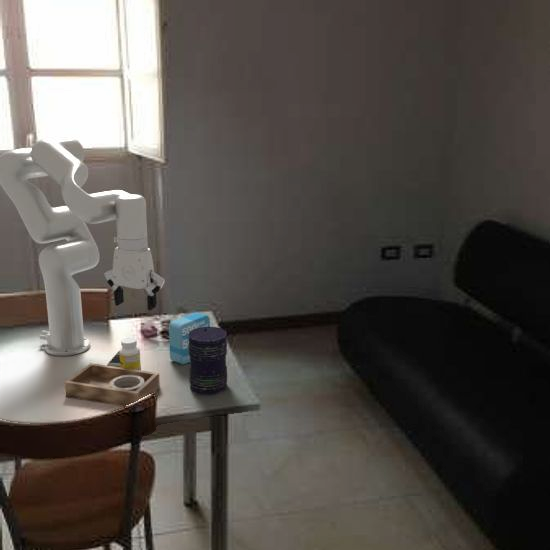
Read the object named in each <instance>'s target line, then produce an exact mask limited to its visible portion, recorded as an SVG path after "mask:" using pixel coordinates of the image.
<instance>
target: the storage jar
mask: <svg viewBox="0 0 550 550" xmlns="http://www.w3.org/2000/svg"><path fill="white" fill-rule="evenodd" d="M227 334H228V333H227V331H226V330H225V329H223V328H220V327H217V326H210V327H200V328H196V329H193V330H191V331H190V332H189V334H188V336H189V343H188V348H189V356H190V362H189V377H188V379H189V380H188V381H189V389H190V391H191V392H192V393H193V394H195V395H199V396H205V397H207V396H216V395H219V394H223V392H225V391H226V390H227V388H228V367H227V354H228V349H227V348H228V341H227V340H228V339H227Z"/></svg>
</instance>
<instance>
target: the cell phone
mask: <svg viewBox="0 0 550 550" xmlns="http://www.w3.org/2000/svg"><path fill="white" fill-rule="evenodd" d="M107 366H114V367H120V355H119V350H118V351H117V352H116V353H115V355H114V356H113V357H112V358H111V359H110V360H109V362H108V363H107Z"/></svg>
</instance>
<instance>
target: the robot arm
mask: <svg viewBox="0 0 550 550" xmlns="http://www.w3.org/2000/svg"><path fill="white" fill-rule="evenodd" d="M84 160H85V150H84V147H83V145H82V144H81V142H80V141H79V140H78V139H76V138H75V137H71V136H62V137H50V138H43V139H39V140H38V141H36V142H34V144H33V145H32V147H22V148H16V149H11V150H7V151H5V152H3V153H1V154H0V186H1V188H2V189H3V191H4V192H5V193H6V194H7V196H8V198H9V200H11V202H12V203H13V205H14V206H15V208H16V209H17V212H18V213H19V216H20V218H21V220H22V222H23V225H24V226H25V228H26V230H27V232H28V233H29V236H30V237H31V239H32V240H33V241H34V242H35V243H37V244H48V243H52V242H58V241H61V242H58V243H54V244H50V245H49V246H46V247H44V248H43V249H42V250H41V252H40V253H39V255H38V265H39V269H40V272H41V274H42V278H43V283H44V289H45V298H46V308H47V309H46V311H47V319H48V321H47V322H48V330H41V331H40V336H39V340H43V341H46V342H47V343H46V344H45V351H46V353H48V354H50V355H52V356H56V357H57V356H61V357H67V356H74V355H77V354H80V353H83V352H85V351H87V350H88V349H90V346H91V341H90V339H88V338H86V337H85V333H84V322H83V321H84V320H83V307H82V296H81V289H80V285H79V284H78V283H77V282H76V280H75V279H74V278H73V275H75V274H78V273H82V272H85V271H88V270H91V269H93V268H95V267H96V266H97V265H98V264H99V262H100V251H99V248H98V245H97V244H96V241H95V238H94V237H93V235H92V233H91V231H90V229H89V228H88V226H87V224H90V225H91V224H92V225H95V224H100V223H101V224H102V223H106V222H110V221H115V222H116V223H115V224H116V236H115V237H113V242H114V243H116V244H117V247H115V248H114V251H113V259H112V269H110V270H108V271H106V272H104V273H103V275H104V277H105V280H106V281H107V284H108V285H109V287H110V288H111V291H113V298H114V299H113V300H114V304H115V305H114V306H116V307H117V306H120V305H122V304H123V303H124V301H125V300H124V297H125V296H124V288H129V289H135V290H136V289H137V290H145V291H146V292H147V294H148V295H147V298H146V299H147V310H148V311H152V310H154V309H155V308H156V307H157V302H158V301H157V294H158V293H159V292H160V291H161V290H162V288H163V287H164V284H165V282H166V279H165V278H164V277H163V276H161V275H159V274H158V273H156V272H155V269H154V268H155V267H154V262H153V261H154V260H153V256H152V252H151V251H152V250H151V249H150V248H149V247H148V246H149V245H148V225H147V224H148V221H147V220H148V219H147V200H146V198H145V197H144V196H143V195H141V194H136V193H135V194H132V193H129V192H127V191H124V190H121V189H114V190H106V191H101V192H95V193H90V194H89V193H87V192H86V191H85V190H84V189H82V187H83V186H84V185H85V184H86V182H87V181H88V178H89V177H88V176H89V169H88V166H87V165H86V164H85V163H84ZM43 177H50V178H51V179H53V181H55V182H56V183H57V184H58V185H59V186H60V187H61V195H62V199H63V202H64V204H65V205H61V206H57V207H52V206H51V205H50V203H49V202H48V200H47V197H46V195H45V194H44V192H43V191H42V190H41V189H40V188H39V187H38V186H36V185H34V184H33V183H31V182H30V181H29V179H36V178H43ZM62 240H65V241H62ZM155 282H156V285H155Z"/></svg>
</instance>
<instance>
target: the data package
mask: <svg viewBox="0 0 550 550" xmlns="http://www.w3.org/2000/svg"><path fill="white" fill-rule="evenodd" d="M210 323H211V319H210V317H209V315H206V314H204V313H200V312H197V311H196V312H192V313H190V314H187V315H185V316H182V317H180V318H177V319H174V320H171V322H169V325H168V338H169V339H168V341H169V358H170V360H172V361H174V362H175V363H179V364H180V365H187V364H188V363H190V356H189V348H188V343H189V336H188V334H189V332H190V331H191V330H193V329H196V328H200V327H211V324H210Z"/></svg>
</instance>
